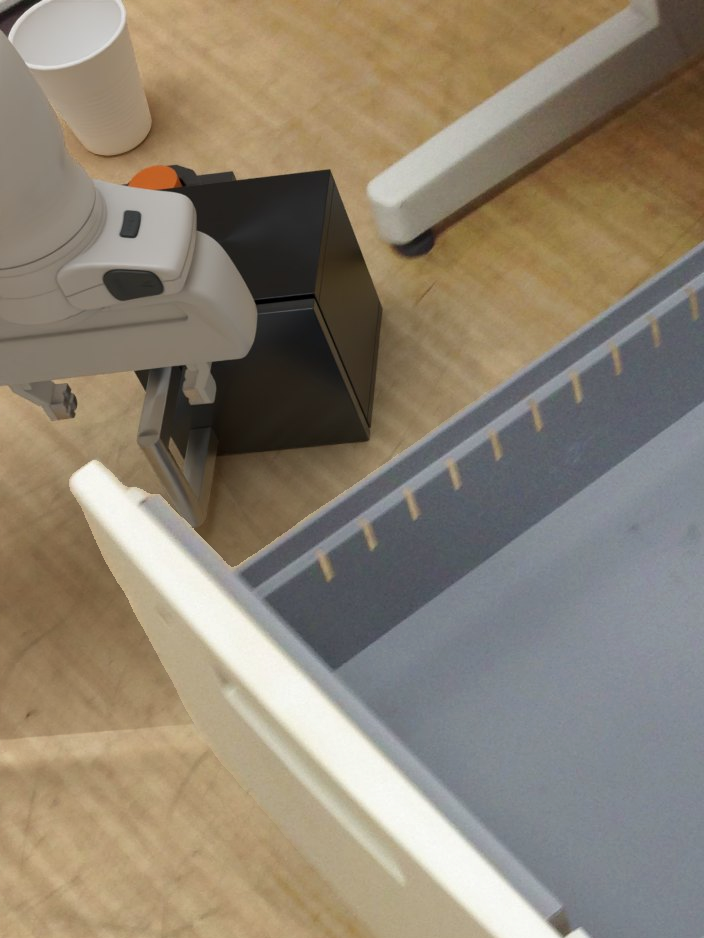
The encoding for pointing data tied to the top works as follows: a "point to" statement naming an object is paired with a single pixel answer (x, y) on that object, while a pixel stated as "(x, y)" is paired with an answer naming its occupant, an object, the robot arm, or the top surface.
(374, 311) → the cupboard
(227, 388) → the cupboard door
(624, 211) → the top surface
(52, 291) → the robot arm
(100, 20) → the cup
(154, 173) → the release button
